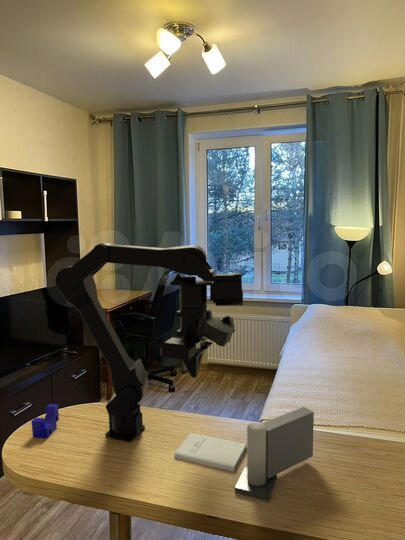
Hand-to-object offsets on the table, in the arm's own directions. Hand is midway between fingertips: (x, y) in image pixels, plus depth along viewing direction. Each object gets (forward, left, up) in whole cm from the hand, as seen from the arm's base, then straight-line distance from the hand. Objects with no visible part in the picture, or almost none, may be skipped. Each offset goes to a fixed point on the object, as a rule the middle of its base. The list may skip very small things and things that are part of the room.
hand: (194, 376), depth 88 cm
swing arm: (+20, -8, -12) cm, 24 cm away
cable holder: (-32, -10, -13) cm, 36 cm away
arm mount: (+17, -12, -13) cm, 25 cm away
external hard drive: (+6, -6, -14) cm, 16 cm away
